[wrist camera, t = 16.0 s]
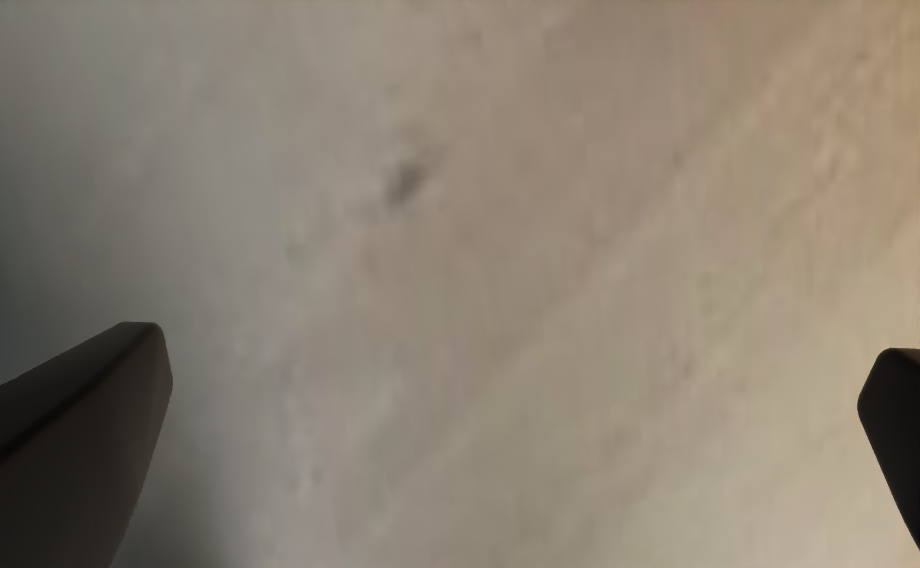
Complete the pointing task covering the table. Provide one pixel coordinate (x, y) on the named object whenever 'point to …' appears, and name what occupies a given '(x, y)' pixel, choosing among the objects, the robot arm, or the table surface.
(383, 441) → the table surface
